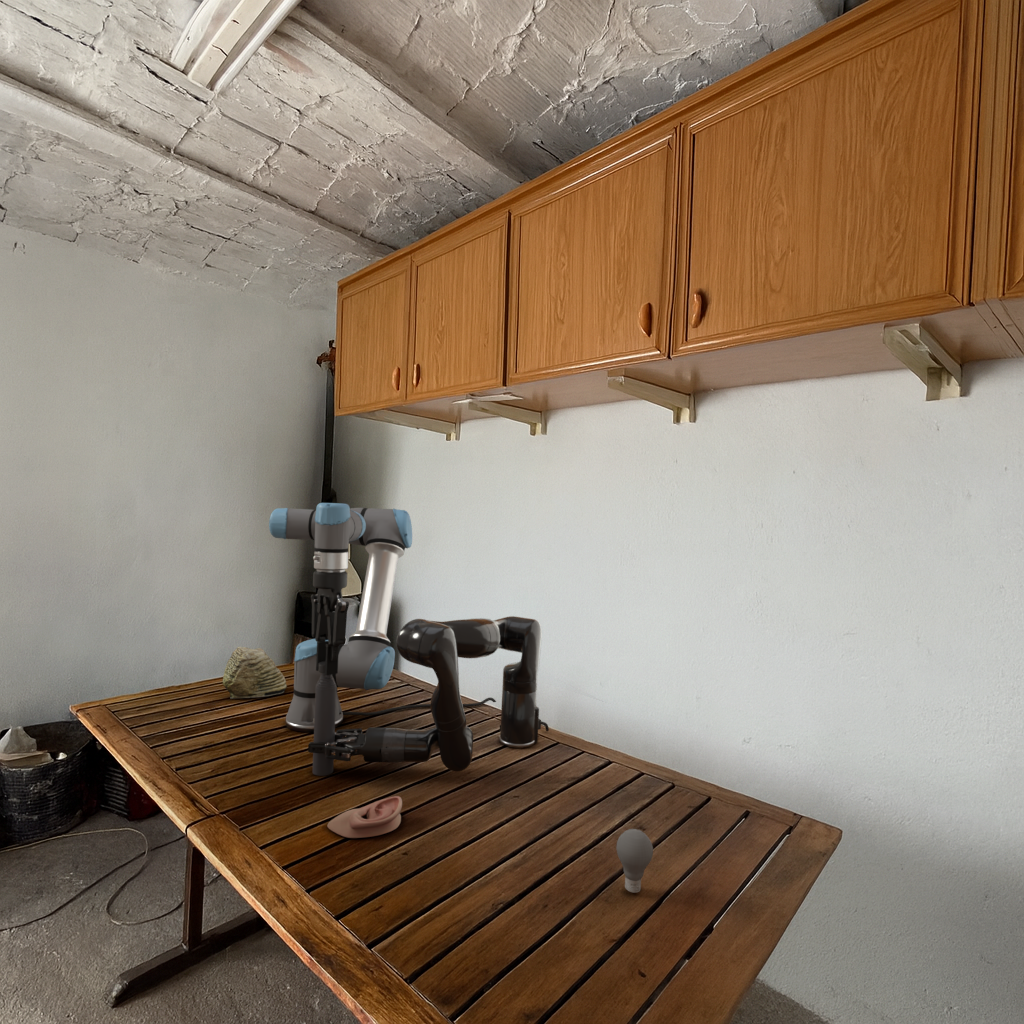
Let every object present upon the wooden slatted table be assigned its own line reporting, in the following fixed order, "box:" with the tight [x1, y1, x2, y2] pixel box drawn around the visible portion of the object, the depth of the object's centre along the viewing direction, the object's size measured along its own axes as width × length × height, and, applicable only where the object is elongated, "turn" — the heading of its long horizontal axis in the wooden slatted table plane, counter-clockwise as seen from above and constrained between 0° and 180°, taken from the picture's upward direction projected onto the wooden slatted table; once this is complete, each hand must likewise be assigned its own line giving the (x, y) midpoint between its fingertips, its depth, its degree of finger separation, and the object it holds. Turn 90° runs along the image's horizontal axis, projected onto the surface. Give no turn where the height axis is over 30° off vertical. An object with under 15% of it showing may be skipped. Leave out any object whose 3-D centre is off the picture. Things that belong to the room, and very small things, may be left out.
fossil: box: [222, 646, 288, 699], centre depth 198 cm, size 9×18×15 cm, turn 132°
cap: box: [318, 661, 326, 673], centre depth 145 cm, size 4×4×2 cm
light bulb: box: [615, 828, 654, 894], centre depth 106 cm, size 6×6×10 cm
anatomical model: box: [327, 795, 403, 839], centre depth 123 cm, size 13×4×12 cm
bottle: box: [312, 673, 338, 777], centre depth 146 cm, size 5×5×25 cm
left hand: (326, 671), depth 145 cm, fingers closed on cap, 4 cm apart
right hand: (312, 742), depth 146 cm, fingers closed on bottle, 4 cm apart
